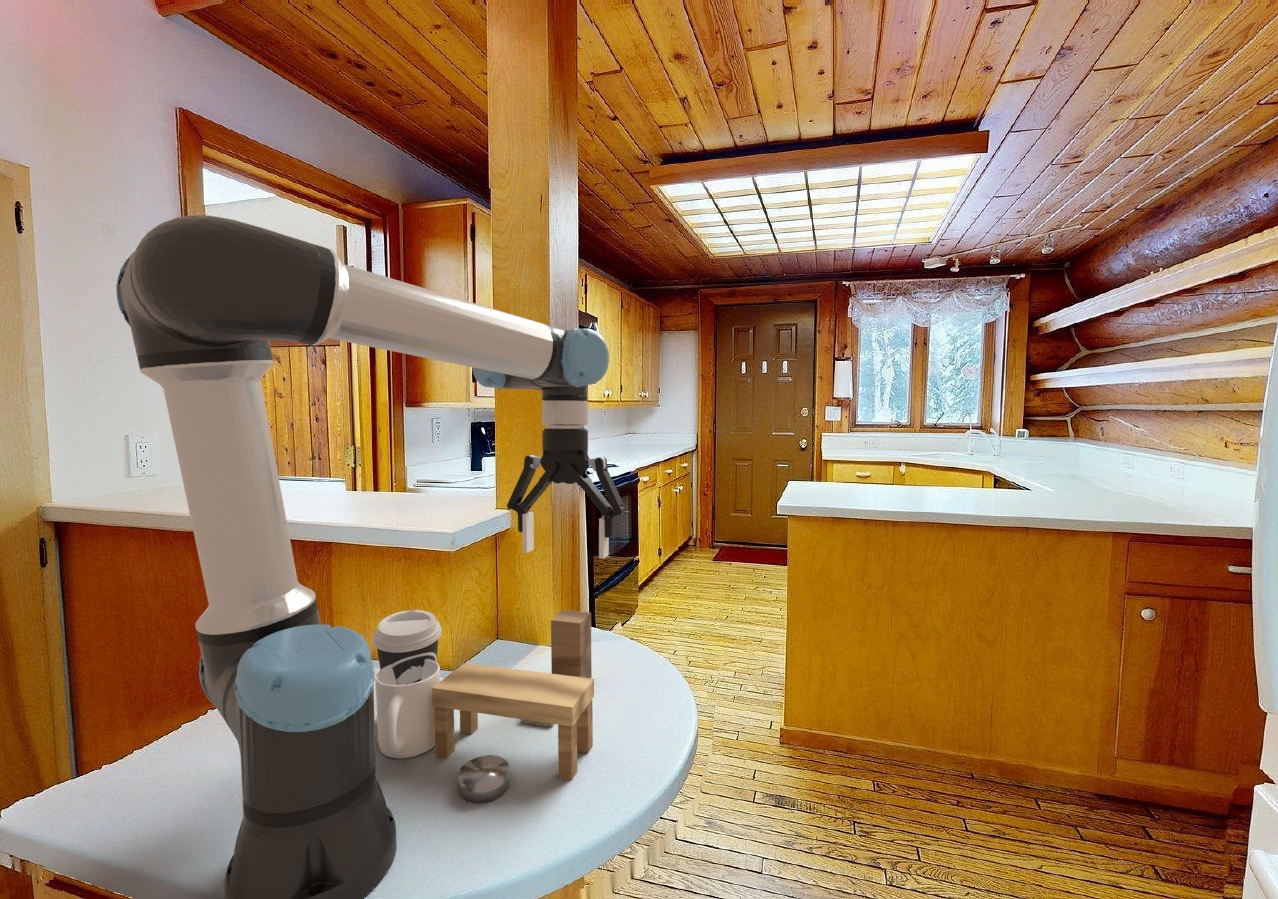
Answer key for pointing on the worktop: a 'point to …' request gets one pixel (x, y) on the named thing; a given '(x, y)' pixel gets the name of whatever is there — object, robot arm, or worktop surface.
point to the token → (483, 779)
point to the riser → (516, 706)
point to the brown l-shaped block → (570, 647)
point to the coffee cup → (407, 643)
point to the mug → (406, 712)
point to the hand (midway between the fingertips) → (565, 554)
